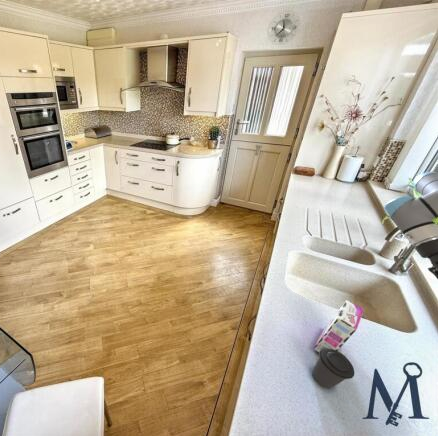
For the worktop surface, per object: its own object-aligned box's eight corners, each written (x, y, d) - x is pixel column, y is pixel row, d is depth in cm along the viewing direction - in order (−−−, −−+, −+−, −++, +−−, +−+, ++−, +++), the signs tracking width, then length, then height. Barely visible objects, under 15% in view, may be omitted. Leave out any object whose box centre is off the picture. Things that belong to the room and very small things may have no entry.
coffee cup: (345, 394, 65) (364, 376, 60) (317, 394, 65) (334, 376, 60) (326, 364, 72) (341, 346, 67) (300, 364, 72) (314, 345, 67)
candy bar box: (329, 362, 73) (357, 330, 65) (312, 349, 76) (336, 318, 68) (339, 340, 80) (365, 309, 71) (322, 329, 83) (346, 298, 74)
